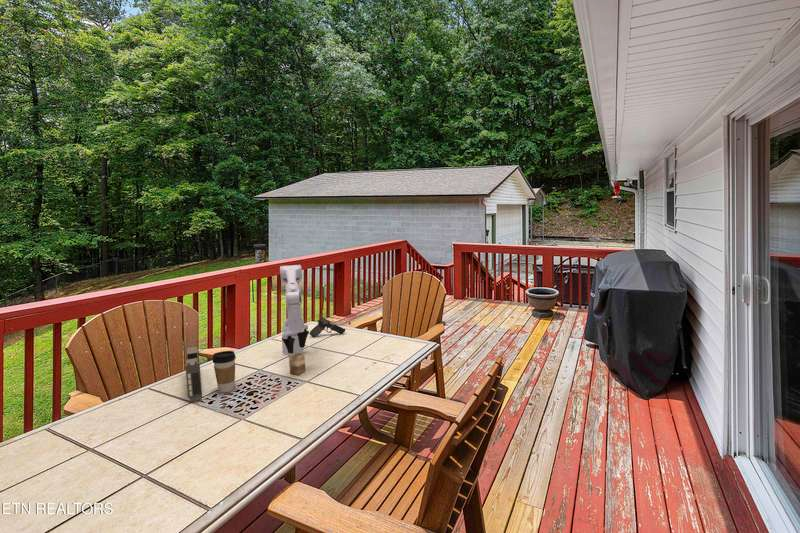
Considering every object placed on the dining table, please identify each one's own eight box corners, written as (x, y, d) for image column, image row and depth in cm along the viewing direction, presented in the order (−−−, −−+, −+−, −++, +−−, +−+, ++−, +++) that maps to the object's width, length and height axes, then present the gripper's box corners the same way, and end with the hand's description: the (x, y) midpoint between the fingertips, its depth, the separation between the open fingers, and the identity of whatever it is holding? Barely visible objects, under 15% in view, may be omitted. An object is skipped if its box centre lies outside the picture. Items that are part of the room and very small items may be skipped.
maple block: (289, 365, 172) (288, 356, 171) (296, 361, 176) (295, 352, 175) (298, 366, 170) (297, 357, 169) (304, 363, 174) (304, 354, 174)
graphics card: (202, 401, 151) (199, 364, 149) (188, 404, 149) (185, 366, 147) (200, 372, 180) (198, 340, 178) (188, 374, 178) (186, 342, 176)
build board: (271, 375, 173) (271, 374, 173) (288, 366, 183) (288, 365, 183) (297, 380, 167) (297, 379, 167) (314, 371, 177) (314, 369, 177)
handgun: (308, 334, 224) (320, 315, 224) (308, 333, 226) (319, 314, 226) (335, 348, 229) (346, 329, 230) (334, 347, 231) (345, 328, 231)
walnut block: (290, 374, 172) (289, 365, 172) (297, 370, 176) (296, 361, 176) (298, 375, 170) (298, 366, 170) (305, 372, 175) (304, 363, 174)
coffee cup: (210, 391, 159) (207, 354, 157) (229, 383, 166) (227, 348, 164) (223, 396, 155) (220, 358, 153) (242, 387, 162) (239, 351, 160)
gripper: (290, 324, 164) (292, 357, 166) (312, 316, 177) (314, 346, 179) (277, 323, 167) (279, 354, 169) (299, 314, 180) (301, 344, 182)
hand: (296, 350), depth 174 cm, fingers open, 7 cm apart
